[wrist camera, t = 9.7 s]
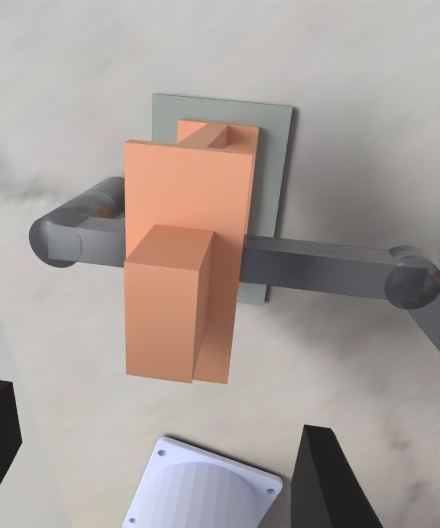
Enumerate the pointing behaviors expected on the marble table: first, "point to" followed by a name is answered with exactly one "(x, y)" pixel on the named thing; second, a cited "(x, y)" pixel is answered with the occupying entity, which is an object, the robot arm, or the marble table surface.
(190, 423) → the marble table surface
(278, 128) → the pad
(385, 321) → the marble table surface
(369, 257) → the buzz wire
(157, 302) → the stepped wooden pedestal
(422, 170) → the marble table surface
